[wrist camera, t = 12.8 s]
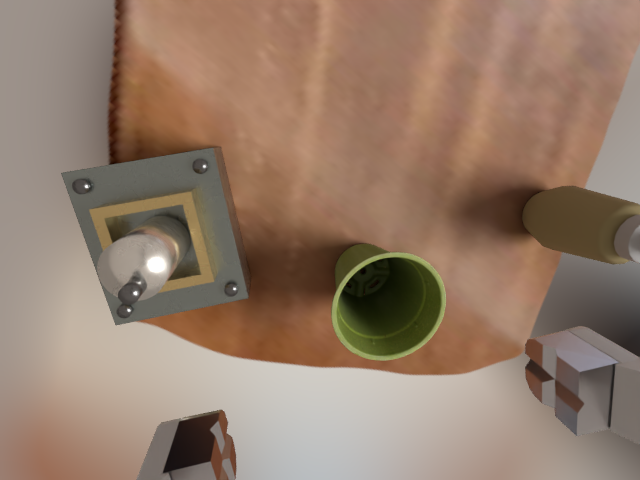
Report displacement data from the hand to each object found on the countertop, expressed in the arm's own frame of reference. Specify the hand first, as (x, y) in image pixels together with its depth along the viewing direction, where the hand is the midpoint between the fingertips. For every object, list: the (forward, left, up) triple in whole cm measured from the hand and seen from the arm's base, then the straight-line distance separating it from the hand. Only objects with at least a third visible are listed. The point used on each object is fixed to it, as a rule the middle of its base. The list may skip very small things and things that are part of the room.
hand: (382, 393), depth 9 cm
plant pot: (+11, +7, -35) cm, 38 cm away
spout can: (+1, -14, -29) cm, 32 cm away
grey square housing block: (+1, -14, -35) cm, 38 cm away
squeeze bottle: (+8, +32, -35) cm, 48 cm away
